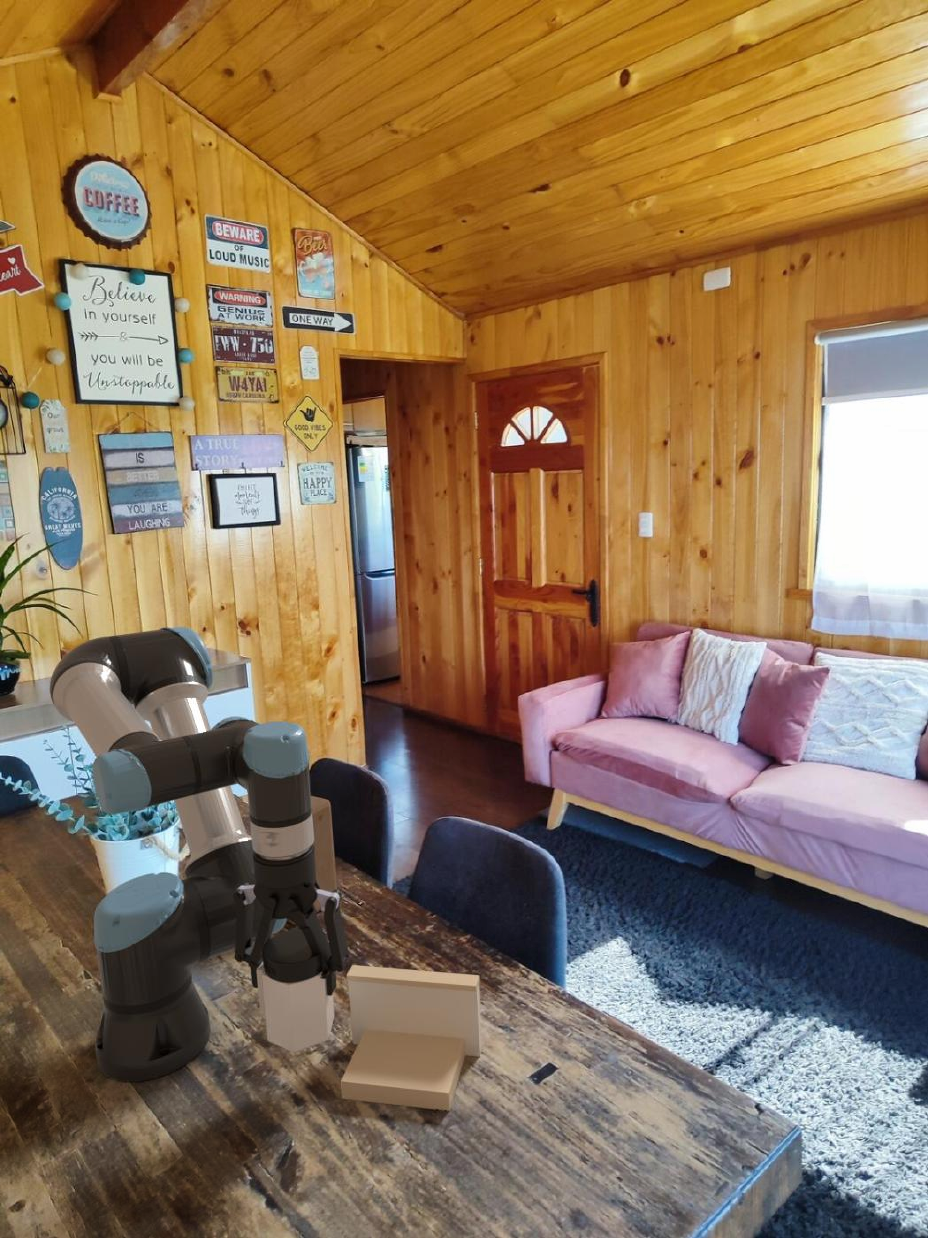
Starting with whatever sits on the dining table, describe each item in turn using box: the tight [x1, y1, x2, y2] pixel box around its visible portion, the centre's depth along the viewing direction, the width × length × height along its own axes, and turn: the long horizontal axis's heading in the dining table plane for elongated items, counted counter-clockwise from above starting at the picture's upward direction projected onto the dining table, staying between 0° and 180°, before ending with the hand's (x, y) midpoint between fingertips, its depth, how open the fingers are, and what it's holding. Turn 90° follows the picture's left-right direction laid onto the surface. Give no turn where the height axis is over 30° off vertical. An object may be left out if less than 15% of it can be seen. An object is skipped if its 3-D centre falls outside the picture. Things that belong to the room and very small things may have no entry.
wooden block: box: [311, 795, 338, 913], centre depth 151 cm, size 10×10×20 cm
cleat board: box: [340, 964, 483, 1112], centre depth 108 cm, size 18×12×11 cm, turn 79°
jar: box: [262, 927, 336, 1053], centre depth 105 cm, size 9×8×12 cm
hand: (296, 1011), depth 106 cm, fingers closed on jar, 7 cm apart
